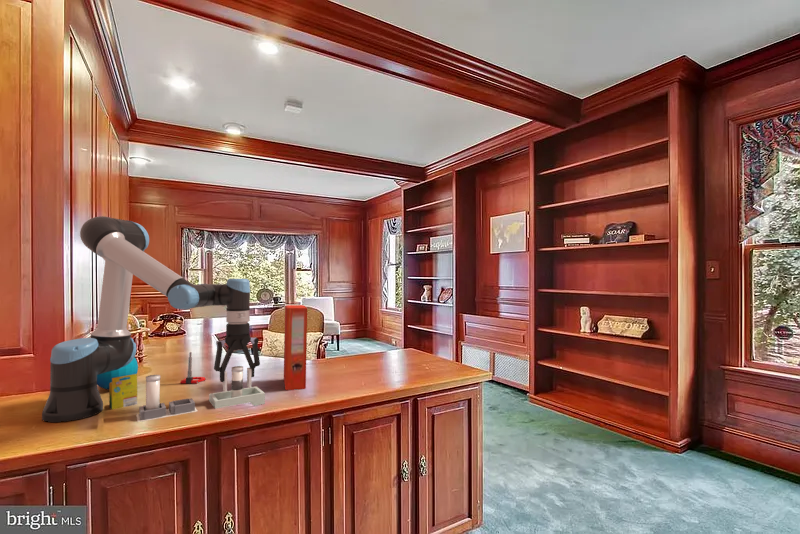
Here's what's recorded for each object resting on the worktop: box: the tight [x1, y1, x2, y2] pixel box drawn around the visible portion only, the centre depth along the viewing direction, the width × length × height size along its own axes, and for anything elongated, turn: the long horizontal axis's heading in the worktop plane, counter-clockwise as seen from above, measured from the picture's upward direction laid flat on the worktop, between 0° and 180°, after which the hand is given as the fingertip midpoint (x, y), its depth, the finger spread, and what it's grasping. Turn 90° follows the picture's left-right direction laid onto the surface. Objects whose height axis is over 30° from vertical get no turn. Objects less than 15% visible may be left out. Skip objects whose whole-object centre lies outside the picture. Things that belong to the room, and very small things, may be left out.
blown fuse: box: [230, 365, 244, 398], centre depth 137 cm, size 4×4×12 cm
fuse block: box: [135, 397, 198, 423], centre depth 124 cm, size 16×8×4 cm, turn 126°
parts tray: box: [208, 385, 266, 409], centre depth 137 cm, size 16×10×4 cm, turn 126°
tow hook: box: [180, 351, 206, 385], centre depth 168 cm, size 8×13×9 cm
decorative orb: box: [97, 357, 139, 391], centre depth 155 cm, size 15×15×15 cm
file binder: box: [283, 304, 308, 391], centre depth 164 cm, size 8×17×32 cm, turn 19°
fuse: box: [145, 374, 161, 410], centre depth 122 cm, size 4×4×12 cm
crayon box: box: [108, 373, 138, 411], centre depth 131 cm, size 7×3×12 cm, turn 141°
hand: (237, 388), depth 137 cm, fingers open, 7 cm apart
